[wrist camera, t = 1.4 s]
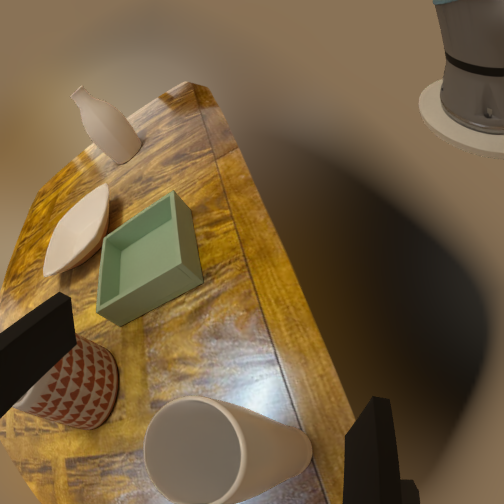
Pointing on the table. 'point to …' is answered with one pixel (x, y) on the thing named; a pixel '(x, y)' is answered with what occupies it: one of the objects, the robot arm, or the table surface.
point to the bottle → (107, 127)
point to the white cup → (220, 452)
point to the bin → (148, 261)
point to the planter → (75, 388)
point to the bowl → (79, 233)
